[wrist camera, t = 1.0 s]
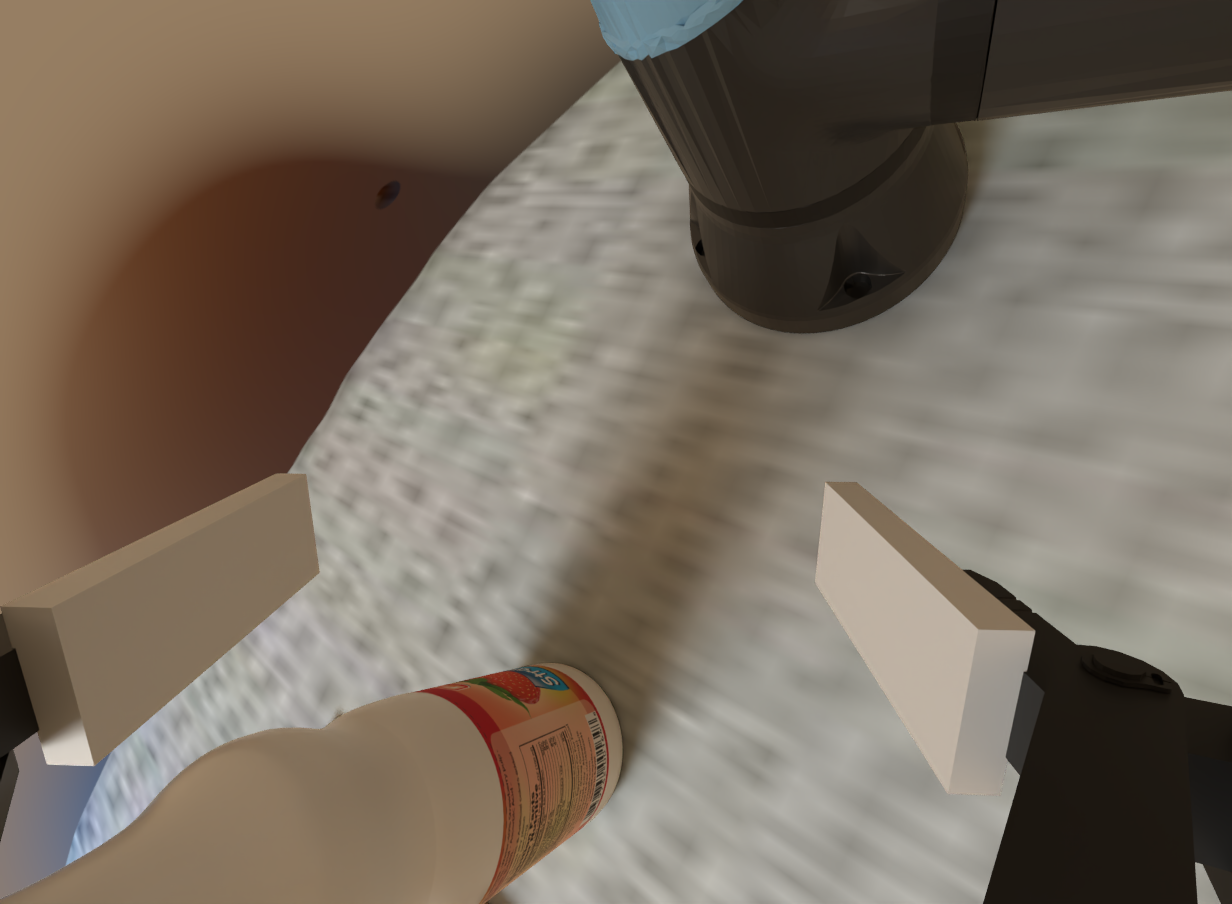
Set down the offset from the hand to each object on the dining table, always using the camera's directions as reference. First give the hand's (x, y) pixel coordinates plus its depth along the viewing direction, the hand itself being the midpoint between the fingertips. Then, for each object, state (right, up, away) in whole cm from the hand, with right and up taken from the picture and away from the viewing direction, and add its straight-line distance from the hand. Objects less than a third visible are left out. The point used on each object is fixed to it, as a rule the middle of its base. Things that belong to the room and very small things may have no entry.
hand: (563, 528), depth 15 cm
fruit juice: (-2, -16, +22) cm, 27 cm away
